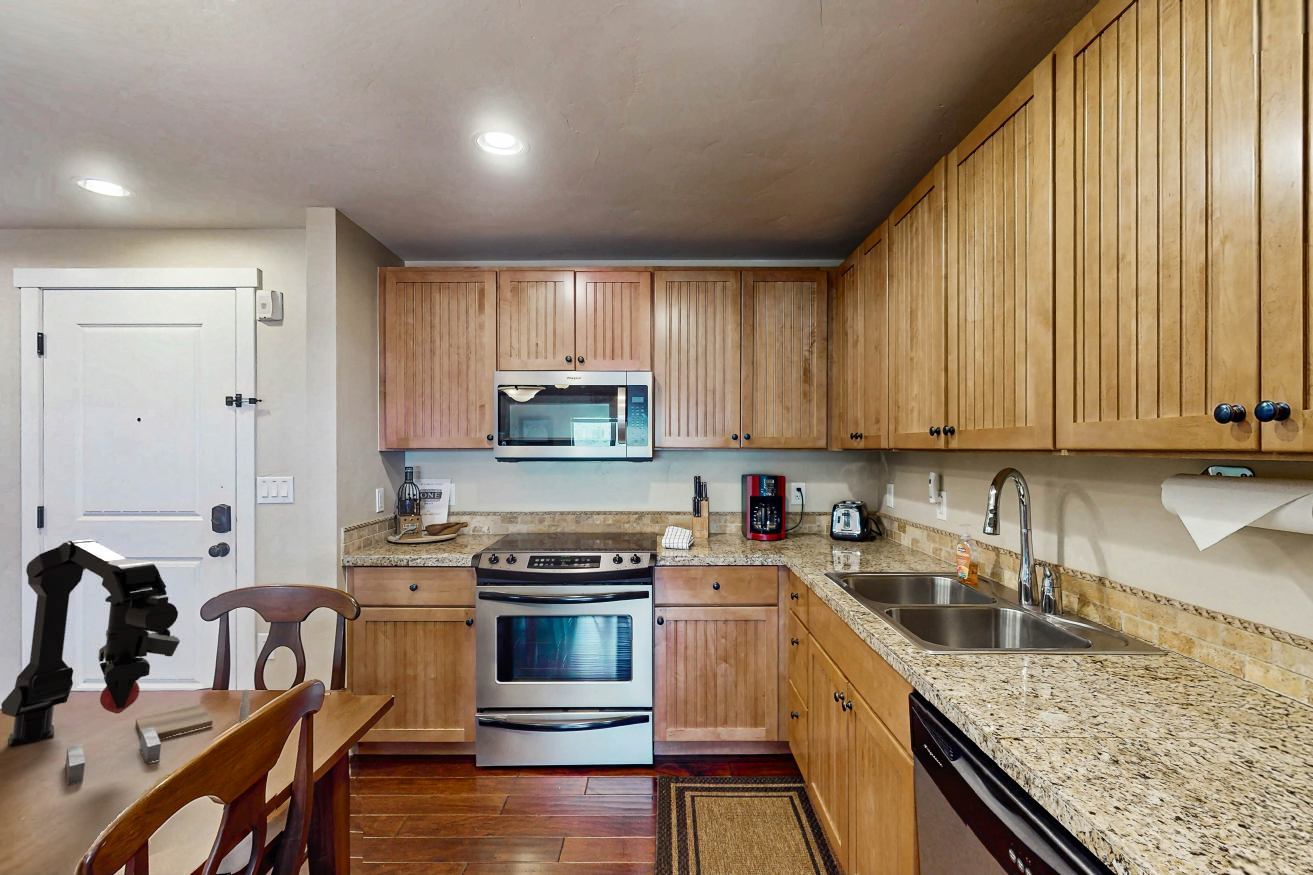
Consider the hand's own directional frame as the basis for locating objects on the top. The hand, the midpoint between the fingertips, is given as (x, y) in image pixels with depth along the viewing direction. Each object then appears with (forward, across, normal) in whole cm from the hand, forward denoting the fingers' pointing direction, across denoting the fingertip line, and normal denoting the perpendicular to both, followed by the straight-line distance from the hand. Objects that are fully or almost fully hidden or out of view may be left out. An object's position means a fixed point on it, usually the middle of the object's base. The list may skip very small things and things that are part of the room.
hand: (119, 703), depth 114 cm
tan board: (+12, +12, -11) cm, 20 cm away
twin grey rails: (+12, 0, 0) cm, 12 cm away
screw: (+12, -11, -19) cm, 25 cm away
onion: (+2, 0, 0) cm, 2 cm away
